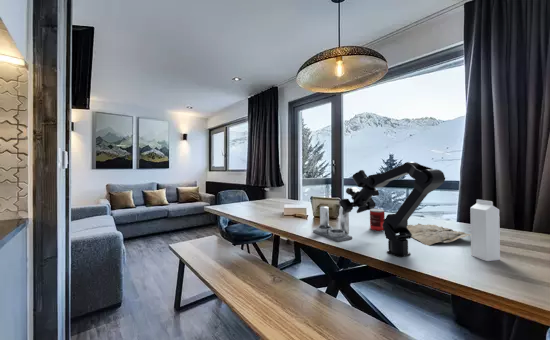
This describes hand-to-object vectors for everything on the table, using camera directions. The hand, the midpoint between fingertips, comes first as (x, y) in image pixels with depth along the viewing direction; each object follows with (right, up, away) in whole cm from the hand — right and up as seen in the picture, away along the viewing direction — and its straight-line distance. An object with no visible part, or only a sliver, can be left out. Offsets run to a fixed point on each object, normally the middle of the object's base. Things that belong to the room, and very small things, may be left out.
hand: (350, 213), depth 123 cm
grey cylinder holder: (-10, -12, +1) cm, 15 cm away
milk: (+41, -11, -33) cm, 54 cm away
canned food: (+19, -11, +11) cm, 24 cm away
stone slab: (+40, -11, -3) cm, 42 cm away
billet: (-2, -12, +5) cm, 13 cm away
